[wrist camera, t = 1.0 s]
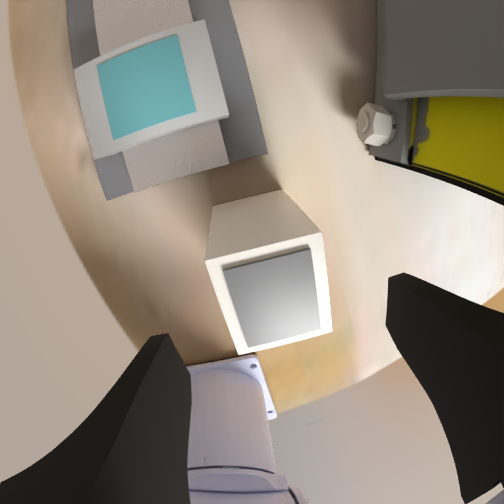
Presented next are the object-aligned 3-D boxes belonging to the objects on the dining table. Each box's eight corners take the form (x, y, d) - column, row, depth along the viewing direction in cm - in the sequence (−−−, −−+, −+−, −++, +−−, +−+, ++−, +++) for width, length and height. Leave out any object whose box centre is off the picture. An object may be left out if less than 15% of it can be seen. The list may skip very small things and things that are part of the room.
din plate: (265, 152, 15) (267, 153, 14) (113, 196, 15) (106, 200, 14) (193, -96, 6) (193, -103, 5) (73, -54, 6) (67, -59, 5)
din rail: (229, 162, 14) (229, 164, 13) (137, 189, 14) (134, 192, 13) (163, -97, 5) (162, -101, 4) (93, -72, 5) (90, -75, 5)
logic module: (295, 259, 18) (333, 333, 11) (232, 274, 18) (238, 357, 11) (282, 189, 16) (323, 233, 9) (212, 206, 16) (204, 262, 9)
